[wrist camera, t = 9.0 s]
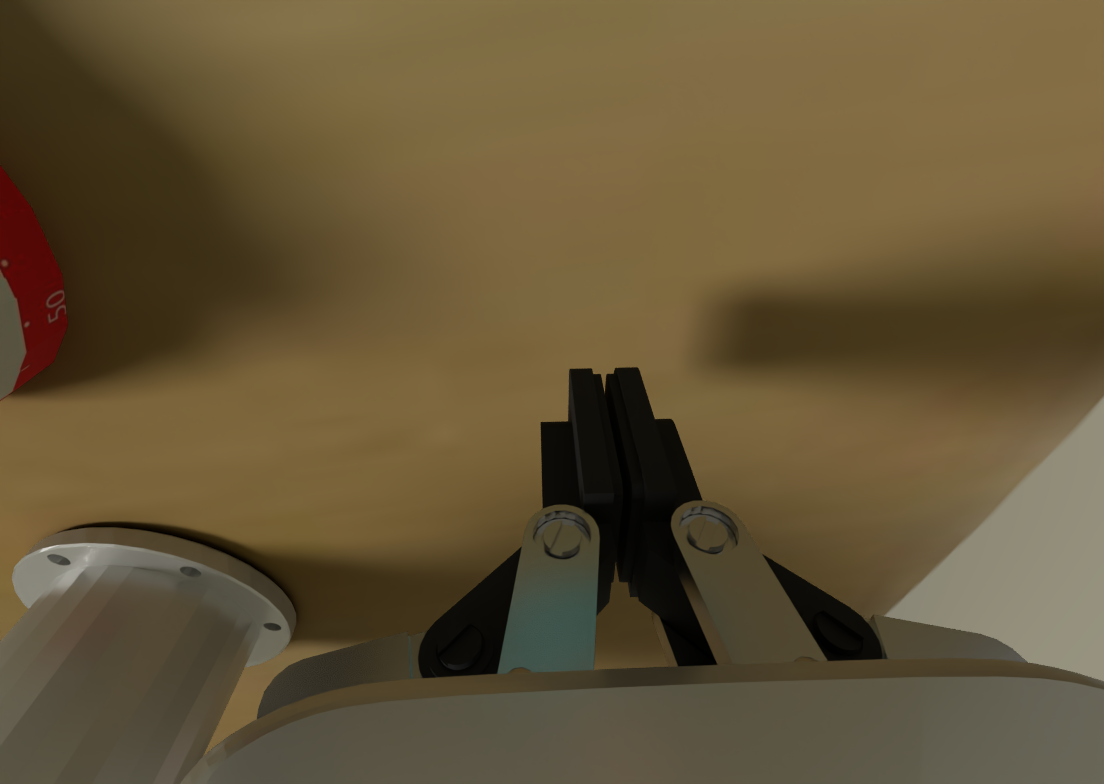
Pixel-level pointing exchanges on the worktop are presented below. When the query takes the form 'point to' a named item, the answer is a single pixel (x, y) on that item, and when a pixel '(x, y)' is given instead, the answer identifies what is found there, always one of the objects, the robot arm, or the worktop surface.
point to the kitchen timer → (26, 293)
